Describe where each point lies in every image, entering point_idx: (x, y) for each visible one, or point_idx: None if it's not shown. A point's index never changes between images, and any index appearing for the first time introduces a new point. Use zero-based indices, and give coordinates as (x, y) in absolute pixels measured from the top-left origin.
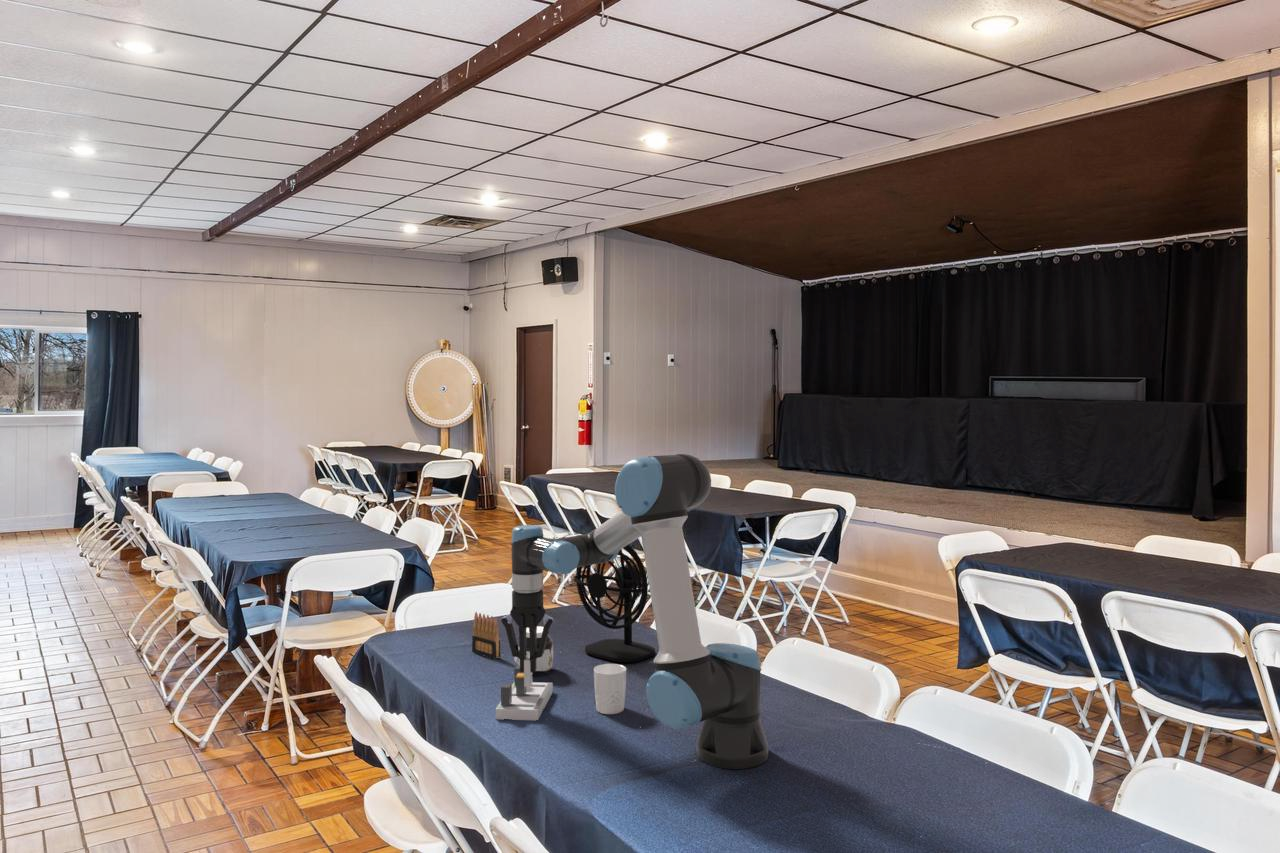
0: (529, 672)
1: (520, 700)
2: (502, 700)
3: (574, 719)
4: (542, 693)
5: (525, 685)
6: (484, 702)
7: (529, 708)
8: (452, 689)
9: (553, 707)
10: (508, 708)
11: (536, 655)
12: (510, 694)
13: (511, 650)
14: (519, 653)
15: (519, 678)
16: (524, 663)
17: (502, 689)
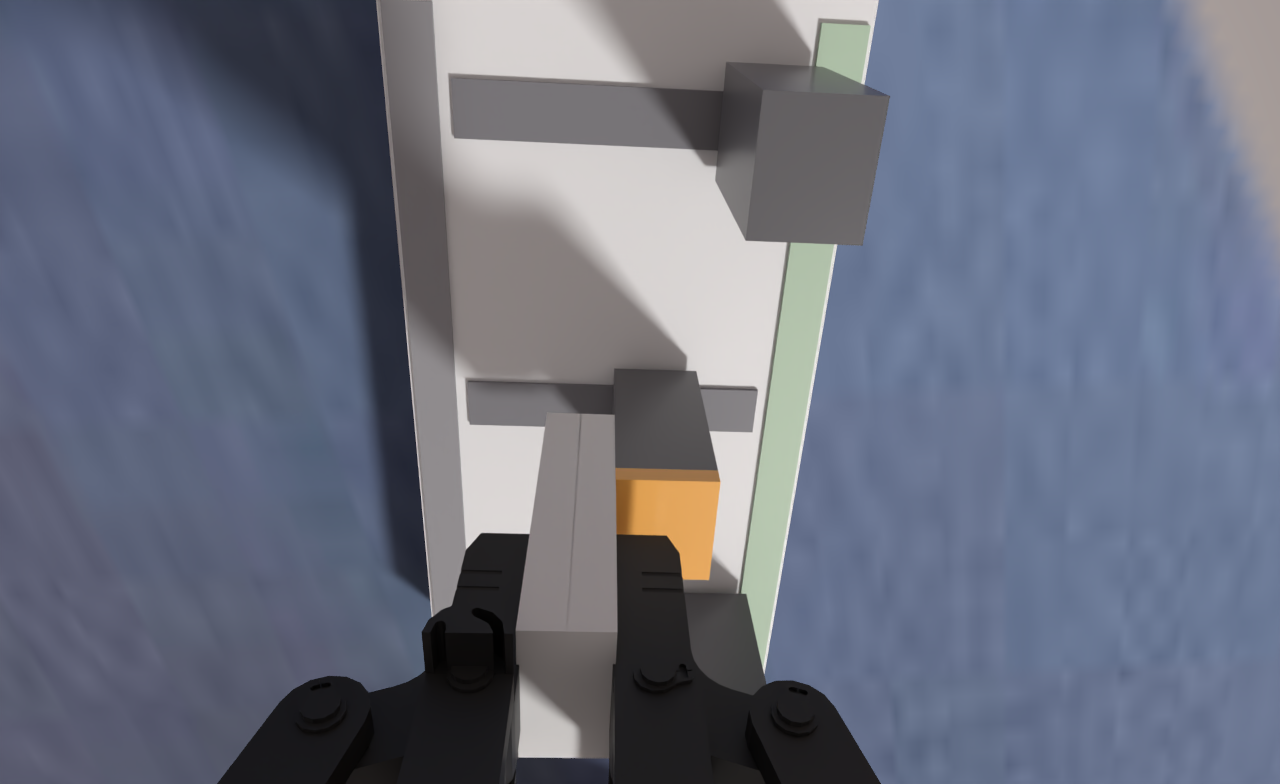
0: (540, 508)
1: (635, 270)
2: (820, 72)
3: (29, 22)
4: (455, 449)
5: (600, 421)
6: (968, 412)
7: (483, 19)
8: (1206, 634)
9: (352, 330)
10: (729, 14)
11: (398, 721)
12: (736, 143)
13: (870, 780)
14: (704, 730)
15: (673, 464)
16: (609, 594)
17: (857, 92)
